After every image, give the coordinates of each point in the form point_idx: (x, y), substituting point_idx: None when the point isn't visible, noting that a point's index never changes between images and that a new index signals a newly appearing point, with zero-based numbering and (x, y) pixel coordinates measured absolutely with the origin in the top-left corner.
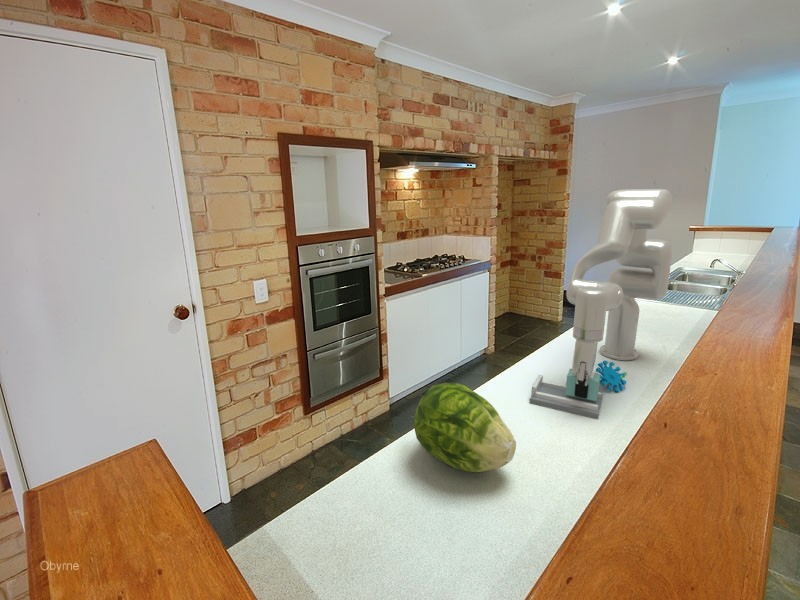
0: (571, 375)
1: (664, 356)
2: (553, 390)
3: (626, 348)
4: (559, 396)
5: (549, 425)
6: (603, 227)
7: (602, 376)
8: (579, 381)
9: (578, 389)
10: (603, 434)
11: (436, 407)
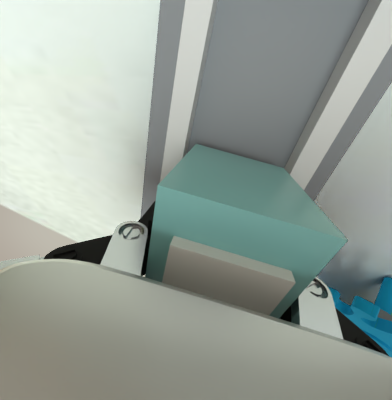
0: (169, 223)
1: None
2: (295, 85)
3: None
4: (189, 112)
5: (40, 64)
6: None
7: (362, 317)
8: (37, 259)
9: (144, 215)
10: (84, 216)
11: None
